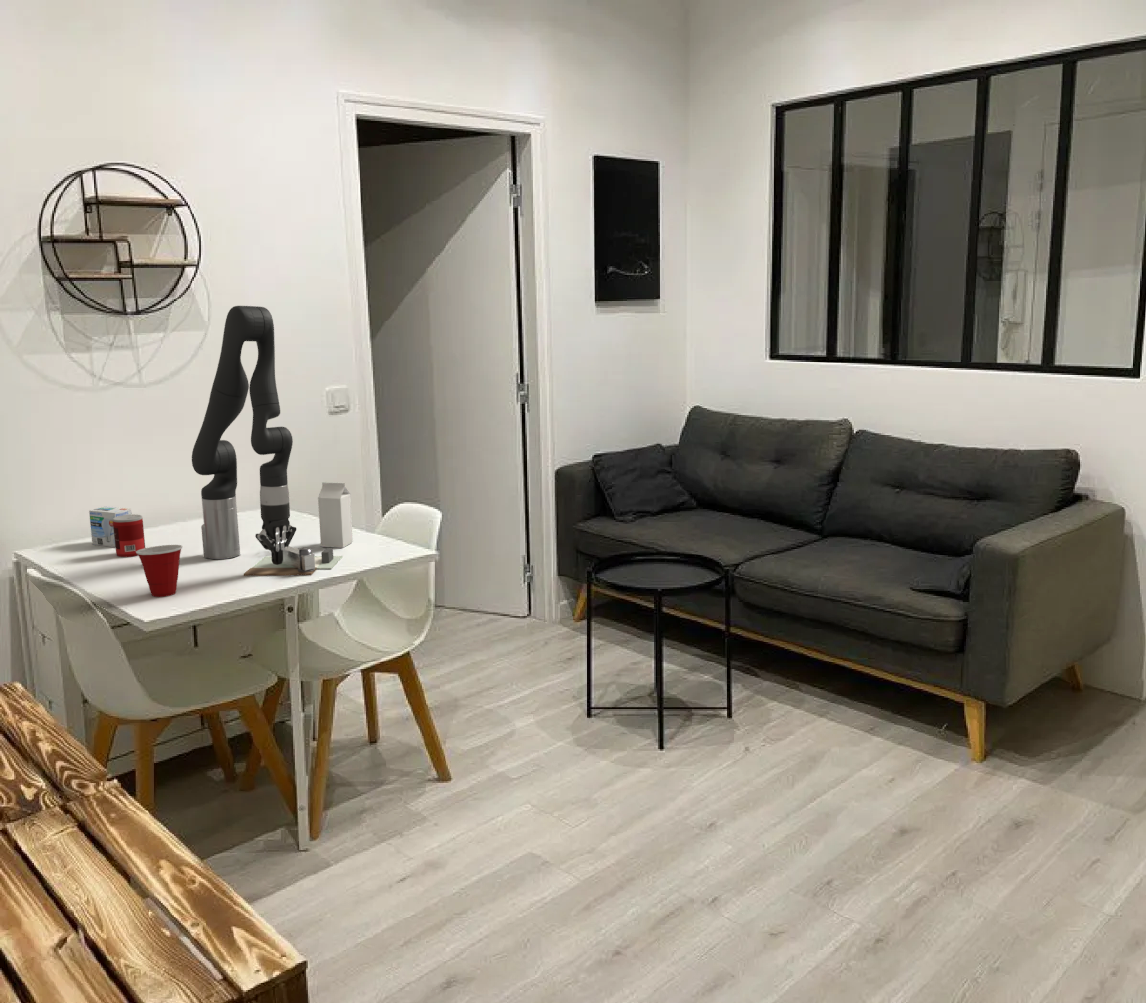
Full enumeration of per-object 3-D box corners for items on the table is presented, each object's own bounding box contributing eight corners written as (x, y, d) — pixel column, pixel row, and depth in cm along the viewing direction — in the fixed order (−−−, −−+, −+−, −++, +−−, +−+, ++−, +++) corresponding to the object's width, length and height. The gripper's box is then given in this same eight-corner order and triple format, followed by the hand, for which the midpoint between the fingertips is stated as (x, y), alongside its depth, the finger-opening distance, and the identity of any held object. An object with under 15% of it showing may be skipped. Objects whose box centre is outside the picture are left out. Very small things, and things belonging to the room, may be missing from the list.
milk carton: (343, 548, 296) (339, 485, 292) (320, 547, 298) (317, 484, 294) (353, 542, 303) (349, 480, 299) (331, 541, 304) (327, 480, 301)
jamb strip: (243, 575, 267) (243, 572, 267) (250, 570, 273) (250, 566, 273) (311, 575, 267) (311, 572, 267) (317, 569, 273) (317, 566, 273)
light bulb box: (91, 545, 303) (87, 510, 301) (109, 540, 310) (105, 505, 307) (118, 547, 299) (114, 512, 297) (135, 542, 306) (132, 508, 303)
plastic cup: (176, 585, 259) (172, 540, 257) (193, 593, 251) (189, 547, 249) (133, 593, 252) (128, 547, 249) (150, 602, 244) (145, 554, 242)
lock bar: (315, 568, 269) (314, 549, 268) (305, 570, 267) (303, 551, 266) (284, 558, 280) (283, 540, 279) (274, 560, 278) (272, 542, 277)
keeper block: (322, 564, 278) (321, 552, 277) (326, 560, 283) (325, 548, 282) (329, 564, 278) (328, 552, 277) (333, 560, 283) (332, 548, 282)
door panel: (250, 570, 273) (250, 568, 273) (265, 557, 286) (265, 556, 286) (331, 569, 273) (331, 567, 273) (342, 557, 286) (342, 555, 285)
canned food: (151, 552, 294) (148, 515, 291) (129, 558, 287) (125, 521, 284) (132, 549, 297) (129, 513, 295) (110, 556, 290) (106, 518, 288)
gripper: (265, 507, 261) (268, 571, 265) (303, 499, 272) (305, 560, 276) (245, 503, 265) (249, 567, 268) (283, 496, 276) (286, 557, 279)
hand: (277, 563), depth 272 cm, fingers closed
